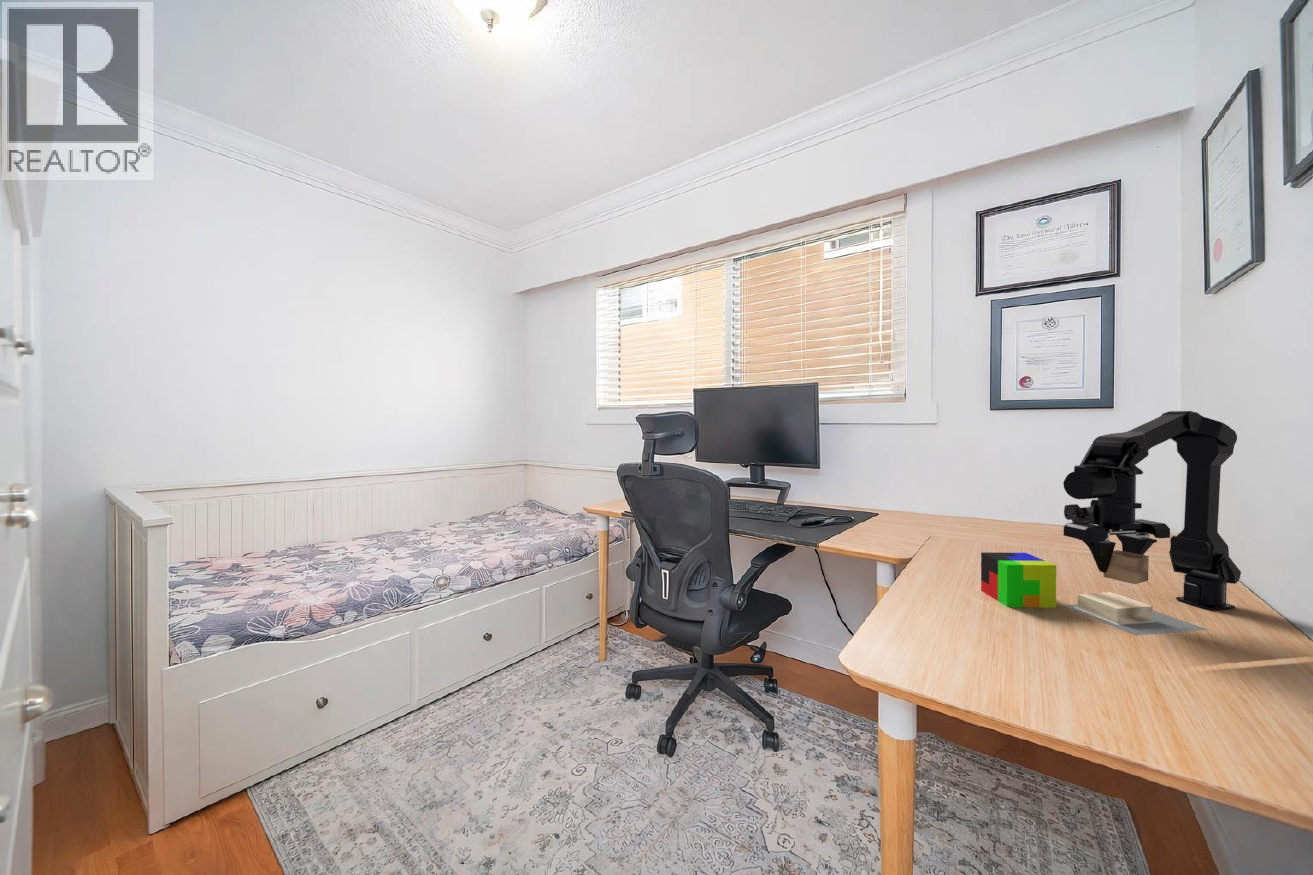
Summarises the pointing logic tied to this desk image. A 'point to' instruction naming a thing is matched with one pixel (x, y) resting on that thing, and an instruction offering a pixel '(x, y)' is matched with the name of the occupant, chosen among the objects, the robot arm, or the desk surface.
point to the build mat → (1146, 623)
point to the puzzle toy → (1018, 579)
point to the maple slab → (1115, 607)
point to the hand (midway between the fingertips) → (1115, 571)
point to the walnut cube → (1128, 567)
